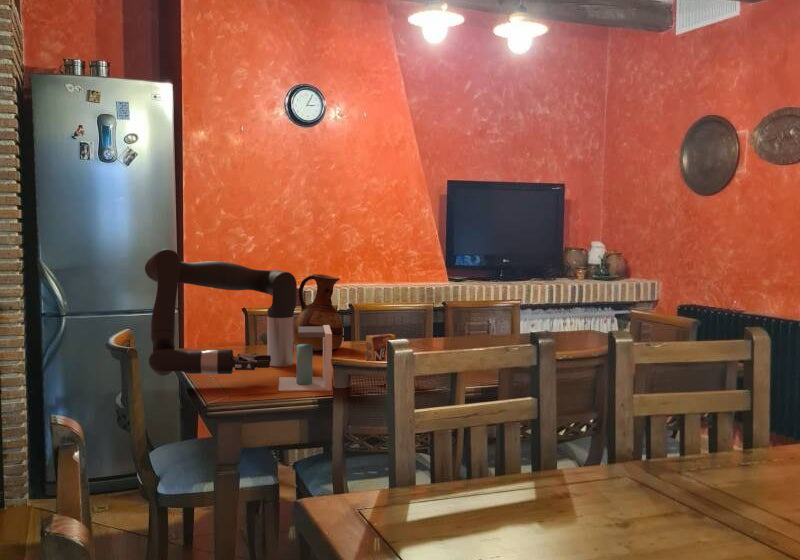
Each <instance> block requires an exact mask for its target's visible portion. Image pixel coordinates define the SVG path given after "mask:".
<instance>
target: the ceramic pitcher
mask: <svg viewBox="0 0 800 560" xmlns="http://www.w3.org/2000/svg"><path fill="white" fill-rule="evenodd" d="M340 279H341V278H340V277H335V276H331V275H328V274H321V273H320V274H319V273H318V274H316V273H313V274H311V275H309V276H306V277H305V278H304V279H302V281H301V282H300V285H299V288H298V291H297V294H298V295H297V296H298V299H299V303H300V307H301V311H300V313H299V314H298V316H297V318H296V320H294V345H295V346H296V347H297V345H299V344H311V345H313V352H314V351H315V352H322V351H321V350H323V337H299V335H298V327H307V326H323V325H329V326H330V329H331V332H332V350H335V349H338V348H340V347H341V346H342V344H343V337H344V327H343V323H342V318H341V316H340V314H339V312H338V311H337V309H336V308H335V307H334V306H333V300H332V296H333V294H334V286H335V285H336V284H337V282H339V281H340ZM311 280H315V281H314V282H315V283H316V293H315V298H314V300H313V301H312V302H311V303H309V304H306V303H305V301H304V297H303V292H304V291H303V290H304V287H305V285H306V284H307V282H308V281H311Z"/></svg>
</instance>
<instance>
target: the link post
mask: <svg viewBox="0 0 800 560" xmlns="http://www.w3.org/2000/svg"><path fill="white" fill-rule="evenodd" d="M313 352H314V351H313V345H311V344H299V345H297V346H296V370H295V371H296V372H295V373H296V374H295V375H296V383H297V384H299V385H309V384H312V377H313V361H314V360H313V356H314V355H313Z"/></svg>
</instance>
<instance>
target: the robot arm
mask: <svg viewBox="0 0 800 560" xmlns="http://www.w3.org/2000/svg"><path fill="white" fill-rule="evenodd" d="M146 261H147V262H146V263H145V266H144V271H145V274H146V276H147V277H148V278H149V279H151V280H152V281H153V282H155V283H157V289H156V296H155V301H154V305H153V307H152V314H151V321H150V324H151V325H150V339H151V343H152V353H151V354H150V355H149V357H148V365H149V367H150V368H151V370H152V371H153V372H154V373H155V374H156V375H159V376H163V377H165V376H168V375H170V374H172V373H173V372H183V373H185V374H193V375H194V374H195V375H197V374H204V375H231V374H233V373H234V371H254V370H257V369H269V368H271V367H277V368H279V367H283V368H284V367H290V366H293V365H294V363H295V362H294V358H295V357H294V356H295V355H294V354H295V352H294V350H295V349H294V345H295V344H294V324H295V316H294V315H295V311H296V308H297V307H296V306H297V298H298V297H297V296H298V295H297V294H298V291H297V290H298V287H297V285H298V284H297V279H296V277H295V276H294V275H293V273H292V272H288V271H283V270H268V269H267V270H264V269H253V268H249V267H248V266H244V265H241V264H237V263H233V262H227V261H220V260H206V261H197V262H196V261H195V262H187V261H186V262H185V261H182V259H181V257H180V254H179V253H178V252H176V251H175V250H174V249H171V248H163V249H160V250H159V251H157V252H155V254H154V255H152V256H150V258H149V259H148V260H146ZM179 284H187V285H193V286H199V287H205V288H212V289H217V290H225V291H254V292H259V293H263V294H267V295H269V296H271V297H272V303H271V306H269V307H268V308H267V311H266V312H267V317H266V319H267V322H266V323H267V328H266V329H267V330H266V331H267V332H266V333H267V338H266V339H267V353H266V354H267V355H266V354H262V355H261V354H257V352H256V353H255V352H254V353H238V354H237V355H236V356H234V351H233V349H207V350H179V349H175V348H176V346H175V336H176V335H175V334H176V332H175V331H176V327H175V326H176V322H175V320H176V303H177V302H176V301H177V293H178V292H177V291H178V288H179V287H178V286H179Z"/></svg>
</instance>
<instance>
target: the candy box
mask: <svg viewBox="0 0 800 560" xmlns="http://www.w3.org/2000/svg"><path fill="white" fill-rule="evenodd" d="M388 340H395V341H396V335H395V334H392V333H384V334H382V333H381V334H370V335H369V334H367V335H366V337H365V341H366V342H365V360H366V361H386V342H387V341H388Z"/></svg>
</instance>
